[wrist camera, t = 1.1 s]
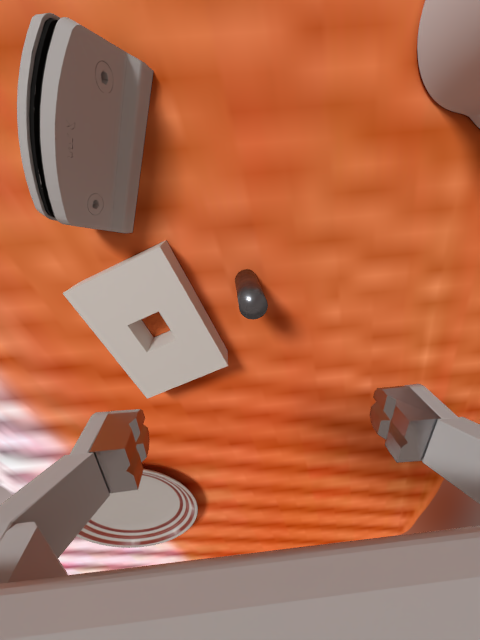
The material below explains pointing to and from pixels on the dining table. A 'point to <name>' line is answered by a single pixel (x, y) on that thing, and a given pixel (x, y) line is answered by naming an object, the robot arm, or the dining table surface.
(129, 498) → the dinner plate
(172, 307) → the grey block with hole
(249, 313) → the pin
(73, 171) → the grey curved slotted block
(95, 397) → the dining table surface
